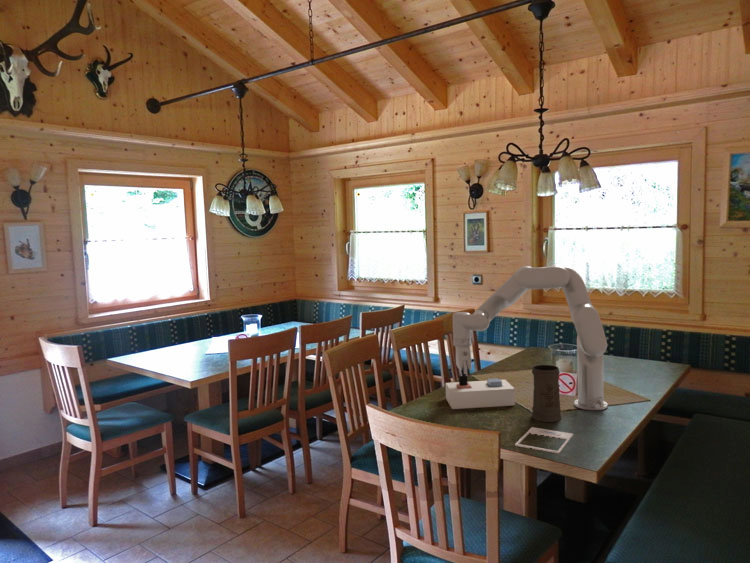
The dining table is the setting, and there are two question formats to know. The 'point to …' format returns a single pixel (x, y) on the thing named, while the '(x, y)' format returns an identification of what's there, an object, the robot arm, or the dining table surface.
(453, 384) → the key console
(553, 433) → the photo frame
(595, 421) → the dining table surface
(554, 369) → the beer stein
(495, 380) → the blue key
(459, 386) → the red key
